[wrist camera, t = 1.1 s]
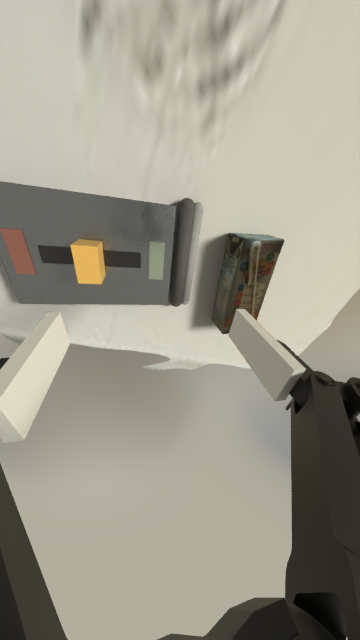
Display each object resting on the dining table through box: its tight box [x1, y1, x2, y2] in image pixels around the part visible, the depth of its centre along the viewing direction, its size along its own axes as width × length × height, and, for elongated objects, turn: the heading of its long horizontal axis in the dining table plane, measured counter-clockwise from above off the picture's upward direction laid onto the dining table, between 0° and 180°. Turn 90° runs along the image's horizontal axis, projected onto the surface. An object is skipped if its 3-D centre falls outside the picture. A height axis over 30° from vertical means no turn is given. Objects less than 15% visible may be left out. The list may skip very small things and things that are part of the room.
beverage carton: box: [212, 233, 284, 334], centre depth 35 cm, size 8×19×7 cm, turn 176°
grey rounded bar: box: [170, 198, 203, 306], centre depth 32 cm, size 18×4×2 cm, turn 173°
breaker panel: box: [0, 181, 176, 305], centre depth 28 cm, size 16×24×3 cm, turn 83°
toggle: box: [70, 239, 106, 284], centre depth 25 cm, size 5×3×4 cm, turn 173°
